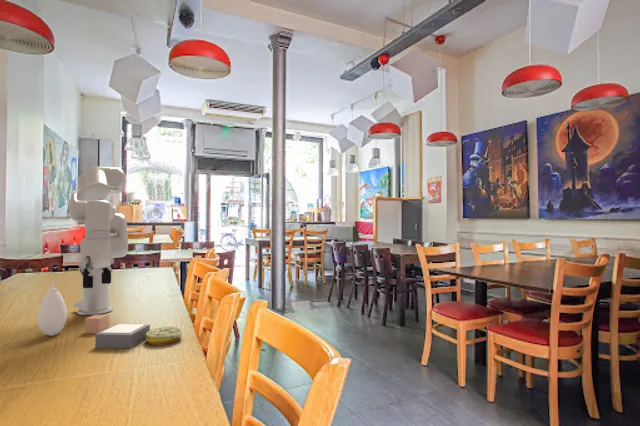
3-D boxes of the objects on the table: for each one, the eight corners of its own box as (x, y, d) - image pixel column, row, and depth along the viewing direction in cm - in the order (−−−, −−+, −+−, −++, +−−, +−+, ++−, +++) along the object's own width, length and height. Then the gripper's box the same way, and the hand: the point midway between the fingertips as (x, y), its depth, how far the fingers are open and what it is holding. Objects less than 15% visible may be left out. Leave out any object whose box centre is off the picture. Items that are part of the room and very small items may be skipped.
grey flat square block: (95, 347, 112) (95, 333, 112) (117, 336, 123) (117, 323, 123) (131, 348, 111) (131, 333, 111) (149, 336, 122) (149, 323, 122)
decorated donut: (188, 341, 119) (188, 329, 119) (154, 349, 111) (154, 336, 111) (172, 334, 126) (173, 322, 126) (140, 341, 118) (140, 329, 118)
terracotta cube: (85, 333, 126) (85, 318, 126) (94, 329, 131) (94, 314, 131) (99, 333, 126) (99, 318, 126) (108, 329, 131) (108, 314, 131)
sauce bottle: (63, 330, 130) (64, 278, 130) (68, 334, 124) (69, 280, 125) (35, 334, 124) (36, 280, 125) (39, 340, 119) (40, 283, 119)
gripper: (103, 235, 138) (102, 282, 137) (69, 236, 121) (68, 290, 120) (122, 235, 138) (122, 281, 137) (91, 236, 120) (91, 289, 120)
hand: (97, 285), depth 128 cm, fingers open, 9 cm apart
